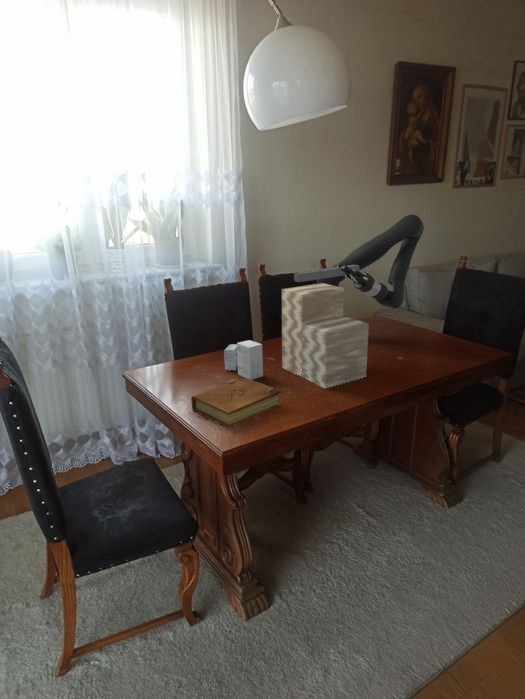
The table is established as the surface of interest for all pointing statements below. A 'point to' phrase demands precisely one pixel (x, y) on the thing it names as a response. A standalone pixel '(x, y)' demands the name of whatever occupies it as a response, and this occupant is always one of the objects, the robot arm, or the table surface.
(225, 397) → the diary
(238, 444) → the table surface
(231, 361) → the medicine box
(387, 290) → the robot arm
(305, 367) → the stand
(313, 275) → the bar
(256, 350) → the small box
